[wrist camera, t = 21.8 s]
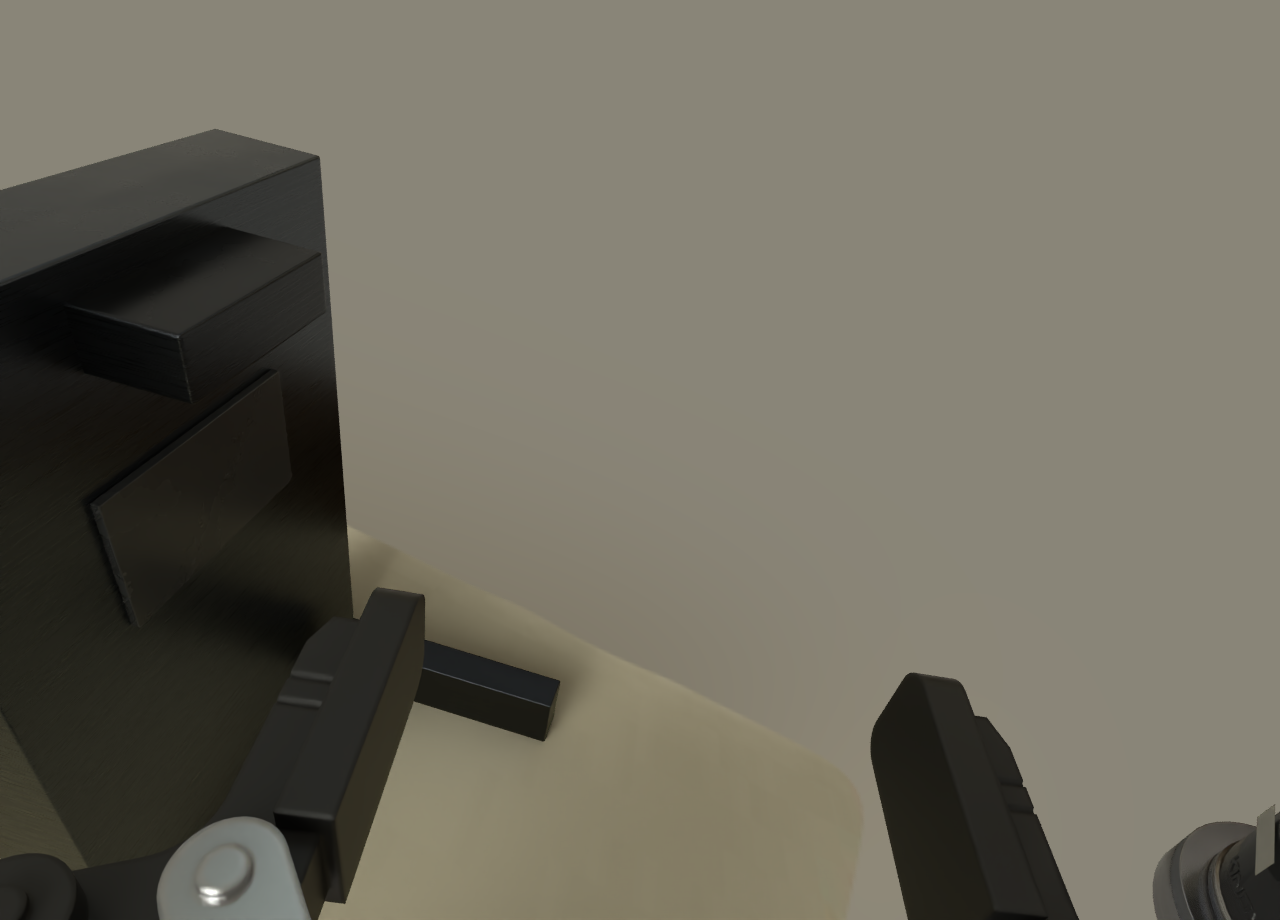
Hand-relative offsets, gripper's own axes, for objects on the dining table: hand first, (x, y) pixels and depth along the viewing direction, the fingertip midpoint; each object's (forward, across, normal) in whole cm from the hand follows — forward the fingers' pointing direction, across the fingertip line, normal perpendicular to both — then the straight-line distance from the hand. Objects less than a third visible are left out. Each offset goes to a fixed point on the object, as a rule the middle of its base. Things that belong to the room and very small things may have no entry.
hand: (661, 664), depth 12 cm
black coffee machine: (+10, +10, +24) cm, 28 cm away
